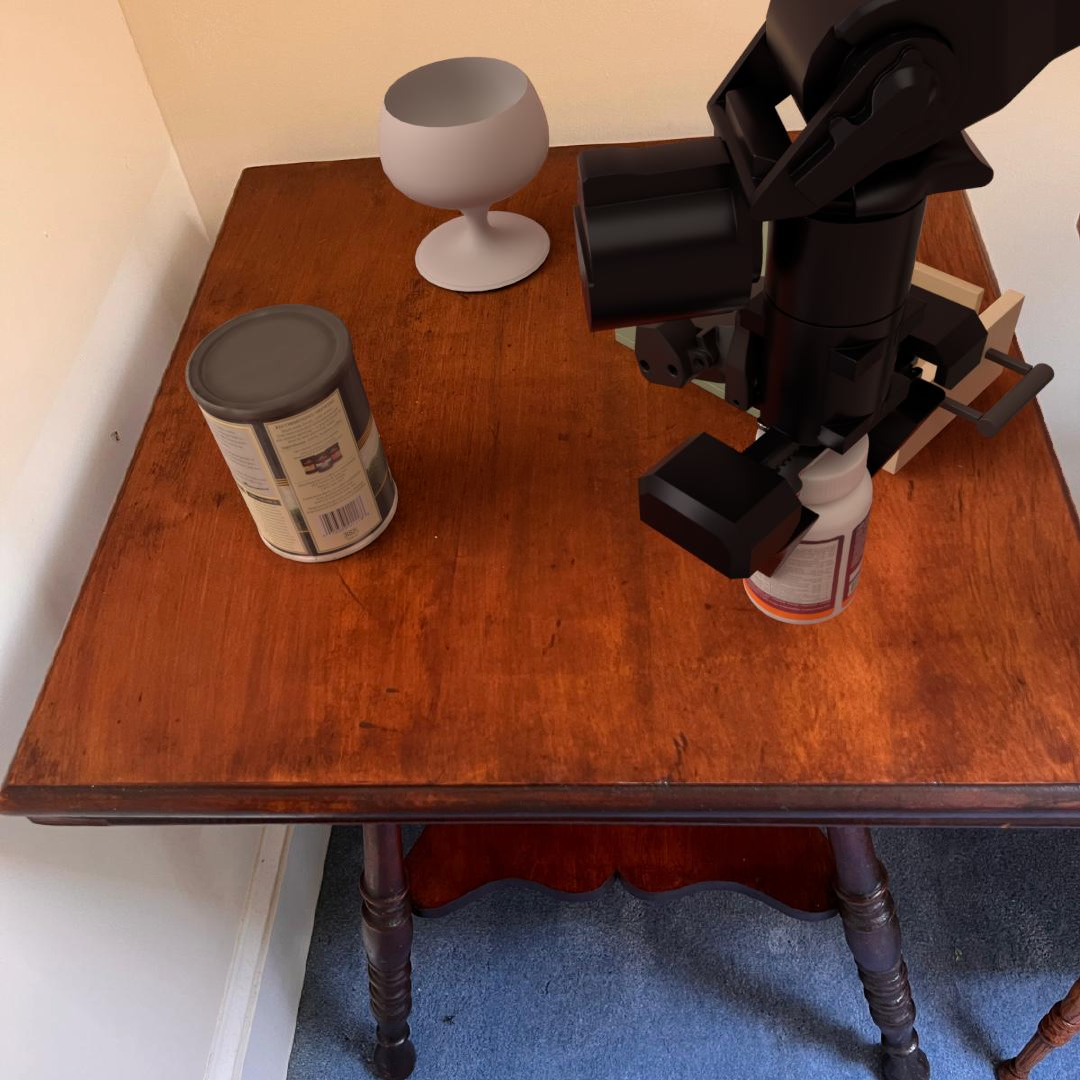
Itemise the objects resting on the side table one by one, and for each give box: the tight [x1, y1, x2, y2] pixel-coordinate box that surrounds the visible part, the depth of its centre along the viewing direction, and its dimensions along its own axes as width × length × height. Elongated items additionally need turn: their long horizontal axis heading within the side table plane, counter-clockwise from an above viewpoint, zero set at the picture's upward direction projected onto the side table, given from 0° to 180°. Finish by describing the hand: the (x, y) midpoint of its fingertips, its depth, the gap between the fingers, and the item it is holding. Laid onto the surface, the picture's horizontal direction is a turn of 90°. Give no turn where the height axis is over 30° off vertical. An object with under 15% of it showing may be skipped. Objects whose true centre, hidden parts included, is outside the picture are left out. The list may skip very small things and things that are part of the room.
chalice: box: [377, 56, 551, 292], centre depth 87 cm, size 14×14×15 cm
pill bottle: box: [742, 428, 874, 625], centre depth 52 cm, size 6×6×11 cm
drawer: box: [881, 260, 1055, 475], centre depth 72 cm, size 18×13×7 cm
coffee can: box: [184, 303, 399, 564], centre depth 69 cm, size 10×10×14 cm
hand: (802, 535), depth 54 cm, fingers closed on pill bottle, 6 cm apart
